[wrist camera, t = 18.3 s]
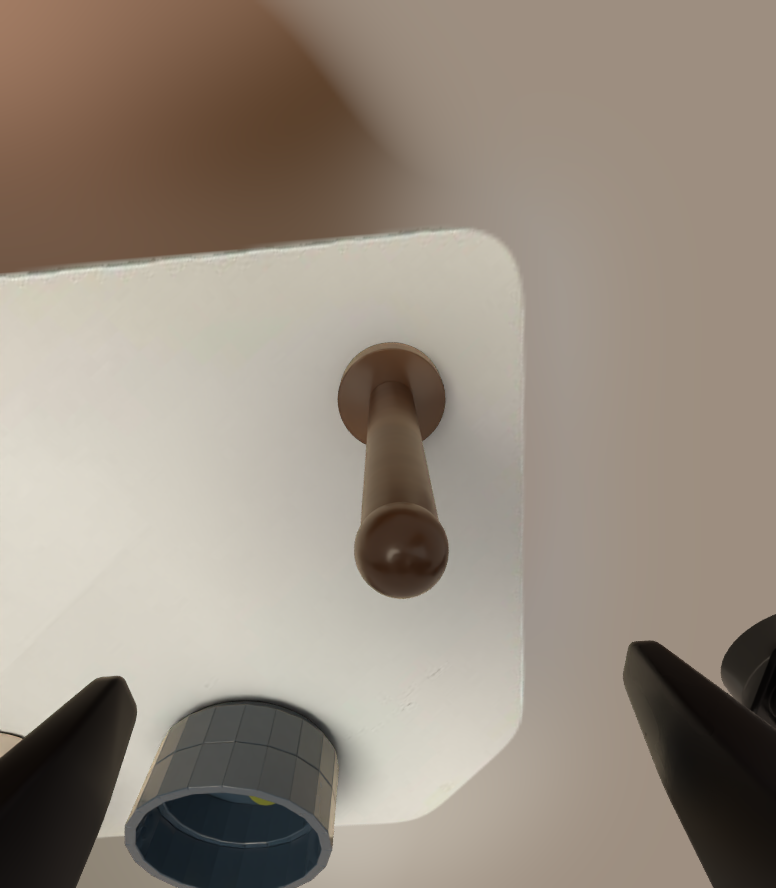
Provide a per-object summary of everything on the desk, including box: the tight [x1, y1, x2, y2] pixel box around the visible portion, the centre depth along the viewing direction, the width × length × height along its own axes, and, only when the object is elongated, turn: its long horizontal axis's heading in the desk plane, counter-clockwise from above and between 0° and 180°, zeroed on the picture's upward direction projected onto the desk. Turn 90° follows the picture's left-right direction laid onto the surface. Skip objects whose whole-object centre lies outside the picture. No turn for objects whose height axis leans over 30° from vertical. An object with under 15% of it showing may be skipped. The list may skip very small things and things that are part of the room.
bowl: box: [125, 701, 339, 888], centre depth 27 cm, size 11×11×5 cm
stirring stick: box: [338, 342, 449, 599], centre depth 14 cm, size 4×4×12 cm
